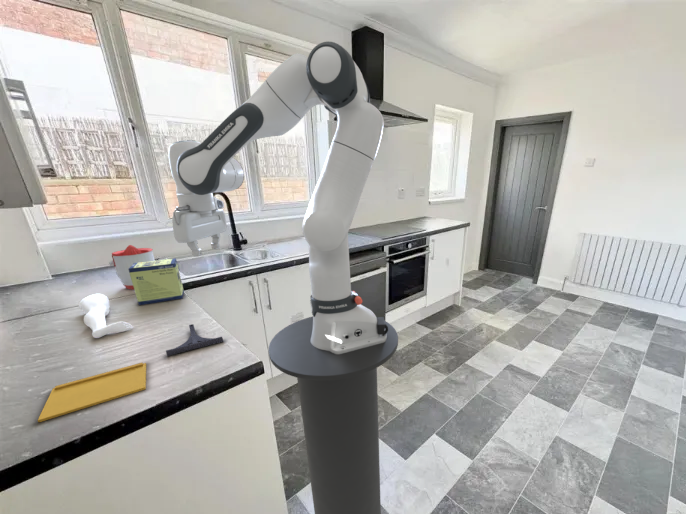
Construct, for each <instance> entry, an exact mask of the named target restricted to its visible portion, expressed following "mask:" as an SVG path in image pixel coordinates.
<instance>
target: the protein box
mask: <svg viewBox="0 0 686 514" xmlns="http://www.w3.org/2000/svg"><path fill="white" fill-rule="evenodd" d="M128 270H129V273H130V277H131V280H132V283H133V287H134V290H133V291H134V293H135V296H136V301H137V304H138V306H142V305H143V306H144V305H149V304H156V303H163V302H168V301H174V300H175V301H176V300H181V299H184V293H185V290H184V286H183V282H182V278H181V274H180V273H181V272H180V269H179V266H178V261H177V258H167V259H158V260H155V261H148V262H138V263H133V265H132V266H131V267H130V268H129V269H128Z"/></svg>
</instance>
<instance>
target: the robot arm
mask: <svg viewBox="0 0 686 514" xmlns="http://www.w3.org/2000/svg"><path fill="white" fill-rule="evenodd" d="M370 102H371V94H370V90H369V87H368V84H367V83H366V81H365V79H364V76H363V73H362V72H361V69H360V68H359V66H358V65H357V63H356V62H355V61H354V59H353V57H352V55H351V54H350V52H349V51H348V50H347V49H346V48H344V47H343V46H342V45H340V44H339V43H336V42H334V41H323V42H320V43H318V44H317V45H315V46H314V47H313V48H312V49H311V51H310V53H309V54H308V55H305V54H304V53H300V52H299V53H293V54H292V55H291V56H289V57H288V58H286V59H285V60H284V61H283V62H281V63H280V64H279V65H278V66H277V67H276V68H275V69H274V70H273V71H272V72H271V73H270V74H269V76H267V78H266V79H265V80H264V81H263V82H262V83H261V84H260V86H259V87H258V89H256V91H254V93H253V94H252V95H251V96H250V97H249V98H248V99H246V100H245V102H243V103H242V104H241V105H239V107H237V108H236V109H235V110H234V111H232V112H231V113H230V114H229V115H228V116H226V118H224V120H223V121H222V122H221V123H220V124H219V125H218V126H217V127H216V128H215V129H214V130H213V131H212V132H211V133H210V134H209V135H208V136H207V137H206V138H205V139H204V140H203V141H202V142H199V141H197V140H193V139H191V140H189V139H188V140H179V141H175V142H173V143H172V144H171V143H170V145H169V147H168V162H169V168H170V172H171V176H172V179H173V181H174V183H175V188H176V189H175V194H176V197H177V198H176V199H177V202H178V206H176V207H175V208H174V210H173V212H172V218H171V220H172V221H171V222H172V230H173V231H172V232H173V237H174V239H175V241H176V242H177V243H179V244H186V245H187V247H188V248H189V249H190V251H191V252H192V256H193V257H200V256H202V255H203V252H202V251H203V250H202V249H201V248H199V246H198V243H199V242H198V241H199V240H202V239H206V238H209V237H210V238H211V240H212V241H211V244H210V246H211V249H212V250H218V249H219V250H220V248H221V246H220V240H221V234H222V233H225V232H227V227H228V226H227V218H226V213H225V211H224V208H225V204H224V201H223V200H222V199H219V198H217V197H215V196H214V193H225V192H233V191H236V190H238V189H240V187H242V185H243V183H244V180H245V173H244V172H245V171H244V169H243V167H242V164H241V163H240V162H239V161H238V160H237V159H236V158H235V156H237V155H238V153H239V152H241V151H242V150H243V148H245V147H246V146H247V145H248V144H250V143H252V142H254V141H257V140H260V139H265V138H272V137H279V136H283V135H286V133H288V132H289V131H291V130H292V129H293V128H294V127H296V126H297V125H298V124H299V122H301V120H302V119H303V118H304V117H305V116H306V114H308V112H309V111H310V110H311V109H312V108H314V107H316V106H319V105H322V106H324V107H323V108H325V109H326V110H327V111H328V112H330V113H331V114H333V115H334V116H336V118H337V125H336V129H335V132H334V134H333V138H332V141H331V144H330V146H329V150H328V151H327V155H326V157H325V161H324V164H323V167H322V169H321V172H320V175H319V177H318V180H317V182H316V185H315V187H314V190H313V192H312V195H311V198H310V200H309V203H308V205H307V208H306V211H305V214H304V216H303V219H302V223H301V231H302V235H303V237H304V239H305V241H306V242H307V244H308V271H309V280H310V282H309V283H310V291H311V294H310V300H309V302H310V303H309V304H310V311H311V314H312V316H313V329H312V336H311V344H312V345H313V346H314V347H316V348H318V349H322V350H327V351H330V352H332V353H334V354H343V353H346V352H350V351H354V350H358V349H361V348H365V347H369V346H373V345H376V344H380V343H383V342H385V341H386V339H387V334H386V333H387V332H388V327H387V325H386V324H385V323H384V321H385V317H384V316H378V317H377V315H376V314H375V313H374V312H373V310H372V309H370V308H368V307H366V306H364V305H363V304H362V303H363V299H362V297H361V296H359V294H358V293H357V292H356V291H355V290H352V283H351V282H352V281H351V266H350V264H351V263H350V249H349V247H350V245H349V231H350V228H351V225H352V222H353V220H354V217H355V215H356V212H357V208H358V205H359V202H360V199H361V196H362V193H363V190H364V188H365V186H366V183H367V180H368V178H369V175H370V172H371V170H372V167H373V165H374V162H375V159H376V157H377V153H378V151H379V148H380V144H381V140H382V136H383V132H384V125H385V120H384V116H383V115H382V113H381V111H380V110H379V108H378V107H376V106H375V105H373V104H372V103H370ZM376 317H377V318H376ZM385 329H386V330H385Z"/></svg>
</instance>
